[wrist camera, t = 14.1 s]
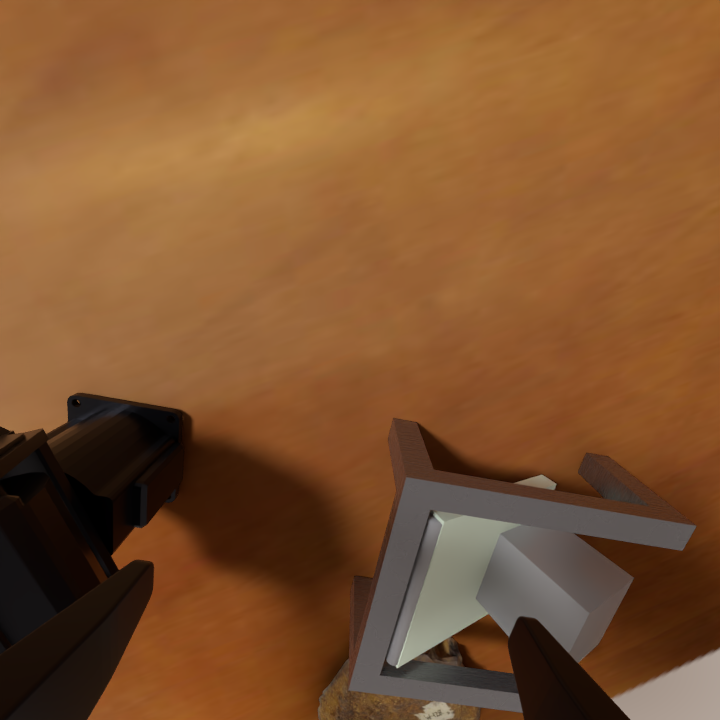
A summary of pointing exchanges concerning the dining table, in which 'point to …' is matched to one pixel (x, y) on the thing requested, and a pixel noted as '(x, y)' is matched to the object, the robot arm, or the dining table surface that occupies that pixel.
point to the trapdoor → (447, 579)
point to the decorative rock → (391, 713)
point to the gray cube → (553, 586)
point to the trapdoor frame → (495, 502)
